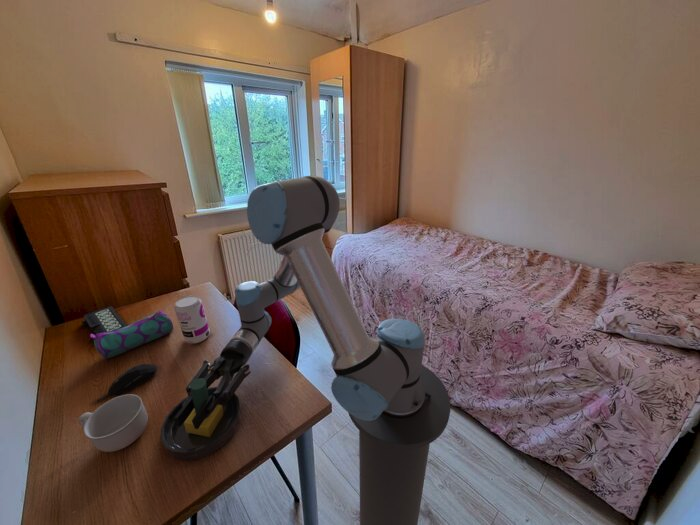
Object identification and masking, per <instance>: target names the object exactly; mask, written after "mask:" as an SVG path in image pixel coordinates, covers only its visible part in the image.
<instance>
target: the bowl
mask: <svg viewBox="0 0 700 525" xmlns="http://www.w3.org/2000/svg"><path fill="white" fill-rule="evenodd" d="M217 387H218V386H214V387H209V388H208V389H207V391H208V397H209V395H213V397H214V394H213V392H214V393H215V391H216V389H217ZM187 397H188V396H186V397H184V398H183V399H181V400H180V401H179V402H178V403H177V404H176V405H175V406H174V407H173V408H172V409H171V410H170V411H169V412H168V414H167V415H166V416H165V418H164V420H163V422H162V424H161V427H160V435H159V436H160V440H161V443H162V445H163V447H164V449H165V451H166V454H167V455H169V456H170V457H171V458H172V459H174V460H178V461H185V462H189V461H194V460H200V459H203V458H205V457H207V456H209V455H211V454H213V453H215V452H216V451H218V450H219V449H220V448H222V447H223V446H225V445H226V444H227V443H228V441H229V440H230V439H231V438H232V437H233V436H234V435H235V433H236V431H237V429H238V427H239V426H240V424H241V419H242V414H243V412H242V407H241V403H240V398H239V396H238V395H237V394H236V392H235V393H234V394H233V396H232V397H231V398H230V400H229V401H227V402H225V401H221V402H220V403H218V405H222V408H223V416H222V418H221V420H220V421H219V423H218V425H217V426H216V428H215V430H214V431H213V433H212V435H211V436H210V437H206V436H201V435H197V434H192V433H187V432H186V429H185V425H184V423H183V424H182V425H181V427H180V426H177V424H176V421H175V419H174V417H175V416H176V415H177V414H178V412H179V411H180V410H181V408H182V404H183V402H184V401H185V400H186V399H187ZM193 410H194V409H193ZM193 410H192V411H193ZM190 414H191V413H190ZM187 418H188V417H187ZM185 421H186V420H185ZM185 421H184V422H185Z"/></svg>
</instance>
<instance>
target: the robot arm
mask: <svg viewBox="0 0 700 525" xmlns="http://www.w3.org/2000/svg"><path fill="white" fill-rule="evenodd" d="M340 206H341V204H340V197H339V193H338V191H337V190H336V188H335V186H334V185H333V184H332V183H331V182H330V181H328V180H327V179H326V178H324V177H321V176H318V175H305V176H301V177H295V178H290V179H283V180H273V181H269V182H268V183H264V184H259V185H257V186H256V187H255V188H253V190H252V191H251V192H250V193H249V196H248V199H247V204H246V207H247V208H246V214H247V216H246V217H247V221H248V222H247V223H248V225H249V229H250V231H251V233H252V234H253V236H254V238H255V239H256V240H258V241H259V242H260V243H261V244H264V245H271V247H272V249H273V250H274V252H275V254H278V255H281V256H282V258H281V259H280V262H279V264H278V267H277V269H276V271H275V274H274V275H273V277H271V278H269V279H267V280H264V281H263V282H261V283H259V282H257V281H254V280H248V281H245V282H241V283H240V284H238V285H237V286H236V287H235V289H234V297H235V304H236V307H237V311H238V314H239V320H240V325H241V326H240V327H239V329H238V330H237V331H236V333H235V334H234V335H233V336H232V338H231V339H230V340H229V341H228V342H227V343H226V345H225V346H224V347H223V349H222V351H221V352H220V355H219V356H218V357H216V358H215V359H214V360H212V361H209V360H208V359H204V360H203V361H202V364H201V367H200V368H199V369H198V371H197V372H196V373H195V375H194V376H193V377H192V379H191V380H190V381H189V383H188V384H187V386H186V387H185V391H186V395H187V396H186V397H187V399H186V400H185V401H184V402H183V404H182V408H181V410H180V411H179V412H178V414H177V415H176V416H175V417H174V419H175V421H176V424H177V426H180V427H181V425H182V424H183V423H184V421H185V420H186V419H187V417H188V416H189V415H190V413H191V412H192V410H193V409H194V403H193V399H192V394H191V389H190V384H191V383H192V382H193V381H194V380H196V379H199V378H202V379H205V381H206V385H207V389H208V388H210V387H211V386H212V385H213V384H214V382H215V381H219V379H220V381H219V382H218V385H217V386H216V387H217V389H216V391H215V393H214V392H213V394H214V397H213V395H209V397H208V398H207V400H206V401H205V402H204V404H203V405H202V407H201V408H200V409H199V411H198V412H197V414H196V415H195V416H194V418H193V419H192V423H193V425H194V428H195V429H198V428H199V427H200V425H201V424H202V422H203V421H204V419H205V418H206V416H207V415H208V414H211V413H212V412H213V411H214V409H215V408H216V406H217V405H218V403H220V402H221V401H225V402H227V401H229V400H230V398H231V397H232V396H233V394H234V393H235V394H236V391H237V390H238V389H239V387H240V386H241V384H242V383H243V381H244V380H245V379H246V378H247V377H248V376H249V375H250V374H251V368H250V365H249V364H247V363H248V361H249V360H250V359H251V357H252V355H253V353H254V352H255V351H256V349H257V347H258V346H259V345H260V343H261V341H262V340H263V338H264V337H265V336H266V334H267V333H268V331H269V329H270V328H271V325H272V321H273V320H272V317H271V315H270V314H269V312H268V311H266V310H265V309H266V308H267V307H270V306H271V305H273V304H274V303H277V302H278V301H280V300H283V299H284V298H285V297H287V296H289V295H293V294H294V293H295V292H296V291H298V290H299V289H301V291H302V293H303V295H304V297H305V299H306V301H307V303H308V305H309V307H310V310H311V312H312V313H313V315H314V317H315V319H316V321H317V323H318V325H319V327H320V329H321V331H322V333H323V336H324V337H325V339H326V342H327V344H328V345H329V347H330V349H331V351H332V353H333V357H332V359H331V364H330V365H331V367H332V370H333V372H334V374H335V377H334V378H333V379H332V382H331V385H330V386H331V387H330V390H331V393H332V396H333V397H334V399H335V400H336V402H337V403H338V404H339V405H340V407H342V409H344V411H345V412H347V413H348V412H349V413H350V414H351V415H353V416H355V417H356V418H359V419H361V420H365V421H372V420H375V419H377V418H378V417H379V416H380V415H381V413H383V414H385V415H387V416H390V417H394V418H408V417H411V416H413V415H415V414H417V413H418V412H419V411H420V410H421V409H422V407H423V405H424V401H425V396H426V397H428V398H431V395H429V394H427V393H425V389H424V386H423V383H422V379H421V376H420V374H421V366H422V365H423V358H424V357H423V356H424V349H425V345H426V343H425V333H424V331H423V330H422V328H421V327H420V326H419V325H418V324H416V323H415V322H413V321H410V320H407V319H405V318H388V319H383V321H381V322H380V323H379V324H378V326H377V329H376V335H377V336H376V338H374V337H372V336H369V334H368V332H367V330H366V328H365V326H364V324H363V322H362V320H361V318H360V316H359V314H358V312H357V309H356V307H355V305H354V303H353V302H352V299H351V298H350V295H349V293H348V291H347V289H346V287H345V285H344V283H343V281H342V279H341V277H340V274H339V272H338V271H337V268H336V267H335V264H334V262H333V259H332V258H331V256H330V254H329V252H328V250H327V248H326V245H325V243H324V241H323V236H324V235H325V234H327V233H329V232H330V231H331V230H332V228H333V226H334V224H335V222H336V221H337V218H338V215H339V212H340Z"/></svg>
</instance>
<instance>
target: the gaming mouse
mask: <svg viewBox="0 0 700 525" xmlns="http://www.w3.org/2000/svg"><path fill="white" fill-rule="evenodd" d="M157 370H158V366H156V365H155V364H147V363H140V364H137V365H134V366H132V367H130V368H129V369H127V370H126V371H124V372H123V373H121V375H119V376H118V377H117V378H116V379H115V380H114V381H113V382H112V384H111V385H110V386H109V388H108V391H107V393H106V394H103V396H101V397H100V398H99V399H97V400H96V402H99V401H101V400H103V399H105V398H107V397H109V395H112V396H120V395H124V394H125V393H127V392H129V391H131V390H132V389H134V388H136V387H138V386H140V385H142V384H144V383H145V382H147V381H149V380H150V379H151V378H152V377H154V376H155V375H156V374H157Z"/></svg>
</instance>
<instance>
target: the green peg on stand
mask: <svg viewBox="0 0 700 525" xmlns="http://www.w3.org/2000/svg"><path fill="white" fill-rule="evenodd" d="M190 389H191V394H192V399H193V403H194V410H193V411H192V412H191V414H190V415H189V416H188V418H187V419H186V421H185V422H184V425H185V429H186V432H187V433H192V434H197V435H201V436H206V437H210V436H211V435H212V433H213V431H214V430H215V428H216V426H217V425H218V423H219V421H220V420H221V418H222V416H223V408H222V405H217V406H216V408H215V409H214V411H213V412H212V413H211V414H208V415H207V416H206V418H205V419H204V421H203V422H202V424H201V425H200V427H199V428H198V429H195V428H194V425H193V423H192V419H193V418H194V416H195V415H196V414H197V412H198V411H199V409H200V408H201V407H202V405H203V404H204V402H205V401H206V400H207V398H208V391H207V385H206V381H205V379H202V378H199V379H196V380H194V381H193V382H192V383H191V384H190Z"/></svg>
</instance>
